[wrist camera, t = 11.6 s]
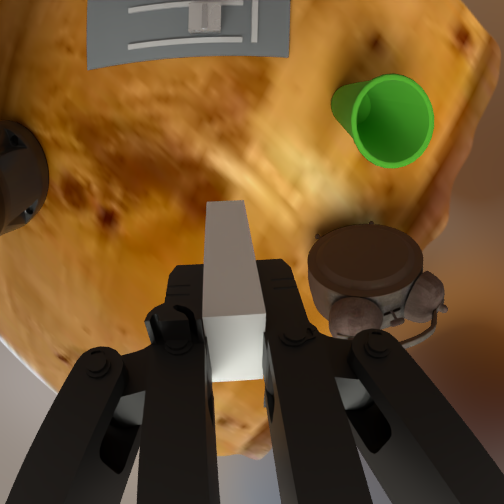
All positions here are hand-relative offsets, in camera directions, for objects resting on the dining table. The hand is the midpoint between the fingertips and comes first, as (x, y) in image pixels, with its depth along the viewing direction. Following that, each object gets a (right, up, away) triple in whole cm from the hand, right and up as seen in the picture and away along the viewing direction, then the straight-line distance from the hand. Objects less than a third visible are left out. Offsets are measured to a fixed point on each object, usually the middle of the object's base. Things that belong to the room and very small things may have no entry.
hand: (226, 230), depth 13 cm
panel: (-6, +27, +11) cm, 30 cm away
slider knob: (-4, +23, +13) cm, 26 cm away
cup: (+13, +17, +20) cm, 29 cm away
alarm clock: (+14, +1, +31) cm, 34 cm away
